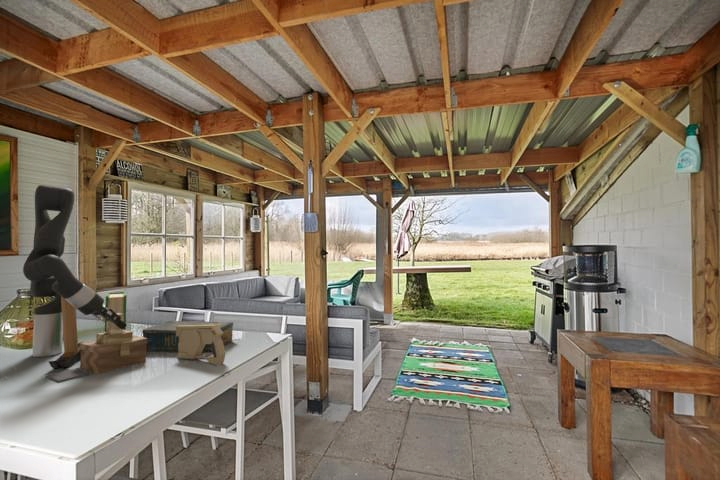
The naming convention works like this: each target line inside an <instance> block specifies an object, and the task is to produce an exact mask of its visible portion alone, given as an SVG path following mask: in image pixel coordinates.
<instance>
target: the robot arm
mask: <svg viewBox="0 0 720 480" xmlns="http://www.w3.org/2000/svg"><path fill="white" fill-rule="evenodd" d="M74 205H75V192H74V190H73V189H71V188H67V187H61V186H54V185H48V184H47V185H46V184H39V185H38V186H37V187H36V189H35V192H34V215H35V217H34V219H35V223H34V224H35V226H34V235H33V247H32V248H33V249H32V250H30V253H29V255H28V256H27V258H26V259H25V262H24V264H23V268H22V272H23V275H24V277H25V278H26V279H27V280H28V281H30V287H29V290H30V295H31V296H32V298H51V297H54V298H53V299H52V300H51V301H49V302H47V303H44V304H41V305H38V306H36V307H34V309H33V310H34V311H33V333H32V334H33V335H32V354H31V355H32V357H34V358H43V357H50V356H55V355H58V354H61V353H63V340H64V338H63V321H62V305H61V297H63V298H64V299H65V300H66V301H67V302H68V303H70V304H71V305H72V306H74V307H75V308H76V310H78V311H79V312H81V313H82V314H83V315H85V316H89V315H92V316H93V317H94V318H96V319H98V320H99V321H102V322H103V323H105V322H106V323H107V321H110V322H112V323H113V324H115V325H116V326H118V327H119V328H120V329H124V328H125V327H127V325H128V324H127V323H126V324H125V323H124V322H123V321H122V320H120V319H121V317H120V316H119V315H117V314H116V313H115V312H114V311H113V310H112V309H109V308H107V307H105V306H103V304H104V303H105V299H104V298H103V297H102V296H101V295H99V294H98V293H97V292H96V291H95V290H93V289H92V288H91V287H89V286H88V285H86V284H84V283H83V282H82V280H81V281H80V280H79V279H78V278H77V277H76V276H75V275H74V274H73V273H72V270H70V269H69V266H68V265H67V264H66V262H65V261H64V260H63V258H61V257H62V256H63V254H64V253H65V245H66V239H65V232H66V228H67V226H68V223H69V221H70V219H71V214H72V212H73V209H74ZM48 211H50V212H51V211H53V212H58V213H57V215H56V216H54V218H51V217H50V215H49V213H48ZM107 318H108V319H107ZM114 318H116V319H115V320H114Z"/></svg>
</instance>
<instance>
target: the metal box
mask: <svg viewBox="0 0 720 480" xmlns="http://www.w3.org/2000/svg"><path fill="white" fill-rule="evenodd" d="M180 325H218V326H219V327H220V329H221V330H222V331H223V335H222V336H221V340H222V341H223V345H224V346H226V345H228V344H230V343H232V342H233V329H234V328H233V327H234V321H200V320H198V321H197V320H194V321H193V320H190V321H189V320H188V321H187V320H169V321H166V322H163V323H159V324H156V325H151V326H149V327H146V328H143V329H142V337H144V338H148V343H147V344H146V352H155V353H156V352H157V353H159V352H165V353H166V352H168V353H169V352H171V353H172V352H174V353H179V351H178V343H179V336H176V326H180ZM201 353H213V352H212V347H210V348H209V344H206V345H205V347H204V349H203V350H202V352H201Z"/></svg>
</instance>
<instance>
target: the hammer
mask: <svg viewBox="0 0 720 480" xmlns="http://www.w3.org/2000/svg"><path fill="white" fill-rule="evenodd" d="M61 305H62V321H63V350H64V352H62V354H61V355H60V356H59V357H58V358H56V360H48V364H49V365H50V367H51V368H52V369H61V368H70V367H72V366H74V365H76V364H77V363H78V362H79V363H80V360H81V349H80V343H83V342H84V341H80V342H79V340H78V323H77V322H78V321H77V320H78V319H77V309H76V308H75V307H74V306H72V305H71V304H70V303H68V302H67V301H66V300H65V299H64V298H63V297H61Z"/></svg>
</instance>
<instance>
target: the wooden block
mask: <svg viewBox="0 0 720 480" xmlns="http://www.w3.org/2000/svg"><path fill="white" fill-rule="evenodd" d="M116 314H117V315H119V316H120V317H121V319H120V320H122V321H123V322H124V314H121V313H116ZM107 319H108V318H107ZM115 319H116V318H114V320H115ZM119 333H123V329H120V328H119V327H118V326H116V325H115V324H113V323H112V322H110V321H107V329H106V334H108V335H113V334H119Z"/></svg>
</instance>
